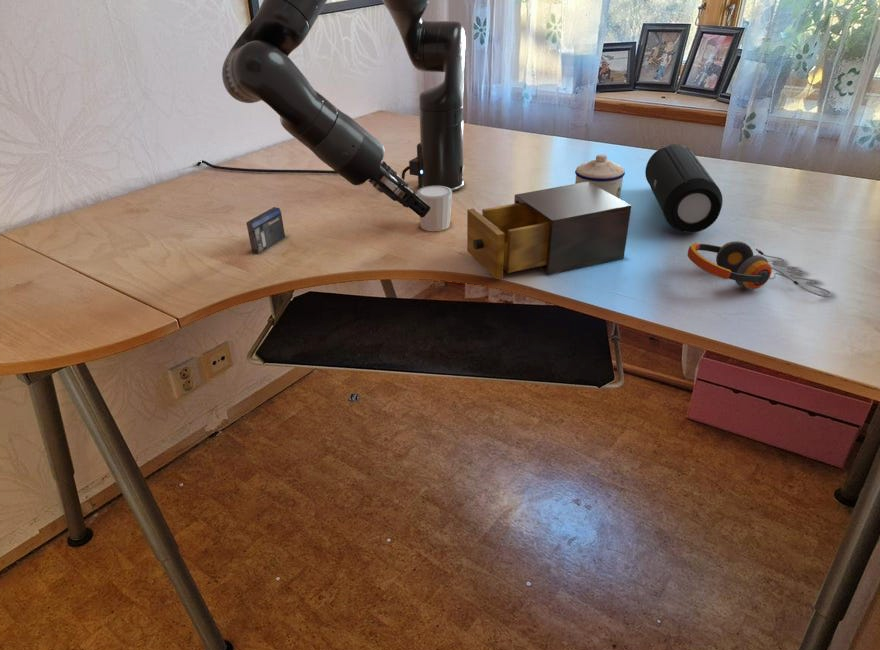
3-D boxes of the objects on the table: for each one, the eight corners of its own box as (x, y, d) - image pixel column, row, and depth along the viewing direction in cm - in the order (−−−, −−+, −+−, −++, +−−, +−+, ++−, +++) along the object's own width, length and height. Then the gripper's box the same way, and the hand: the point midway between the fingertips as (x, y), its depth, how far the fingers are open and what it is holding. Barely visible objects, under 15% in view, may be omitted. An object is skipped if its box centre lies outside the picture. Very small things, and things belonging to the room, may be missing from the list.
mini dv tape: (258, 253, 122) (252, 223, 119) (252, 252, 123) (246, 222, 119) (285, 237, 128) (280, 207, 124) (279, 235, 128) (274, 206, 125)
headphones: (851, 282, 96) (728, 266, 92) (832, 314, 99) (712, 299, 95) (784, 237, 110) (676, 221, 106) (769, 266, 113) (664, 251, 109)
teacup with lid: (620, 223, 124) (629, 163, 118) (571, 222, 126) (577, 162, 120) (615, 201, 134) (623, 143, 128) (570, 200, 136) (575, 143, 129)
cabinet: (548, 275, 109) (552, 220, 103) (512, 245, 119) (514, 194, 114) (623, 258, 112) (631, 205, 107) (582, 231, 123) (587, 181, 117)
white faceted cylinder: (456, 220, 130) (456, 186, 126) (447, 233, 125) (446, 198, 121) (423, 217, 132) (422, 184, 128) (413, 231, 127) (411, 196, 123)
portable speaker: (640, 188, 139) (647, 141, 134) (689, 188, 138) (698, 140, 132) (661, 237, 118) (671, 183, 113) (719, 237, 117) (732, 183, 111)
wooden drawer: (489, 280, 106) (490, 236, 102) (460, 252, 116) (460, 210, 111) (569, 263, 110) (573, 220, 105) (535, 237, 119) (537, 196, 115)
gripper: (374, 137, 91) (455, 207, 101) (350, 116, 102) (426, 181, 112) (341, 180, 93) (424, 244, 103) (321, 155, 104) (398, 216, 113)
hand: (425, 211), depth 107 cm, fingers closed
